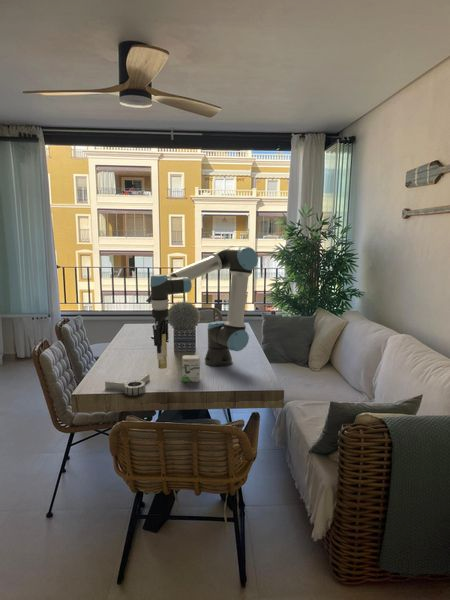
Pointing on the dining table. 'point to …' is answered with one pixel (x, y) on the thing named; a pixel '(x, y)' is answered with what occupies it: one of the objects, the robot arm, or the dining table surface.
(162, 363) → the pin
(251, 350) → the dining table surface
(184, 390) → the dining table surface
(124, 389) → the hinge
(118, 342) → the dining table surface
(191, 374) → the ink box
